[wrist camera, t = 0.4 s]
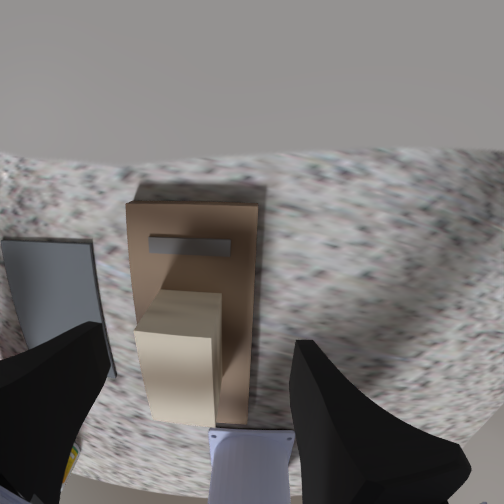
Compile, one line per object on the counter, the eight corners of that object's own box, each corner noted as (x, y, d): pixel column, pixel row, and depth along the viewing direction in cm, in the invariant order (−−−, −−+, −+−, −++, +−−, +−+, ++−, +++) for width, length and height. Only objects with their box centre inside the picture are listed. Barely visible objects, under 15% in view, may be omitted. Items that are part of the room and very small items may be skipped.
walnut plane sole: (247, 414, 24) (247, 425, 23) (158, 405, 24) (154, 416, 23) (258, 203, 18) (258, 207, 17) (132, 200, 19) (124, 204, 17)
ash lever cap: (222, 377, 21) (215, 427, 17) (169, 372, 21) (153, 419, 17) (221, 293, 19) (211, 338, 14) (160, 289, 19) (133, 330, 14)
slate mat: (116, 376, 23) (115, 378, 23) (33, 356, 23) (31, 357, 23) (91, 243, 19) (89, 244, 19) (2, 239, 19) (0, 240, 19)
